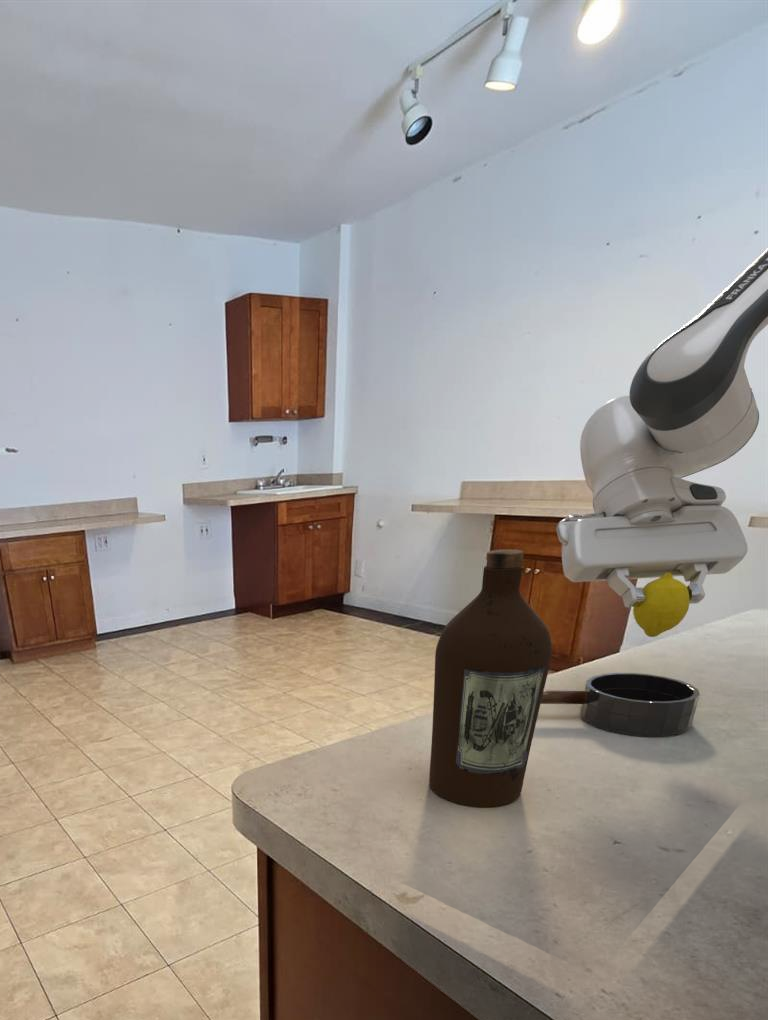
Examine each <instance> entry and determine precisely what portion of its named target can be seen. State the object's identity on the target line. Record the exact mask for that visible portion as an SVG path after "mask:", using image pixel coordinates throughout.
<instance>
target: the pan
mask: <svg viewBox="0 0 768 1020" xmlns="http://www.w3.org/2000/svg"><path fill="white" fill-rule="evenodd" d="M583 691H587V692H588V701H587V703H586V704H580V705H581V706H580V712H579V716H580V718H581V719H582V720H583V721H584V722H585V723H587V724H589V725H590V726H593V727H595V728H598V729H599V730H603V731H607V732H610V733H614V734H620V735H627V736H631V737H632V736H634V737H644V738H664V737H665V738H666V737H674V736H679V735H682V734H685V733H686V732H688V731H689V730H690V729H691V726H692V724H693V721H694V718H695V713H696V710H697V708H698V703H699V700H700V697H701V693H700V690H699V688H697V687H696V686H694V685H692V684H691V683H688V682H686V681H682V680H679V679H675V678H671V677H667V676H662V675H655V674H650V673H648V674H647V673H637V672H611V673H602V674H598V675H595V676H591V677H590V678H588V679H586V681H585V686H584V690H583Z"/></svg>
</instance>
